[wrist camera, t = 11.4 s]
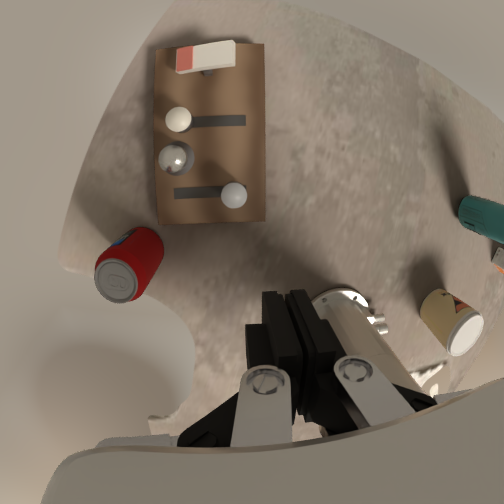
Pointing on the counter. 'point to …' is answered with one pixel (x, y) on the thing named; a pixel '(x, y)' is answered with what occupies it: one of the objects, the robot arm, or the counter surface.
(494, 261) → the skincare box
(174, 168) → the button
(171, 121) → the lever ivory
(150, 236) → the beverage can
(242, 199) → the lever grey
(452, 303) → the coffee cup
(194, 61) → the block
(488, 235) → the beverage bottle
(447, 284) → the counter surface
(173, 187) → the console
